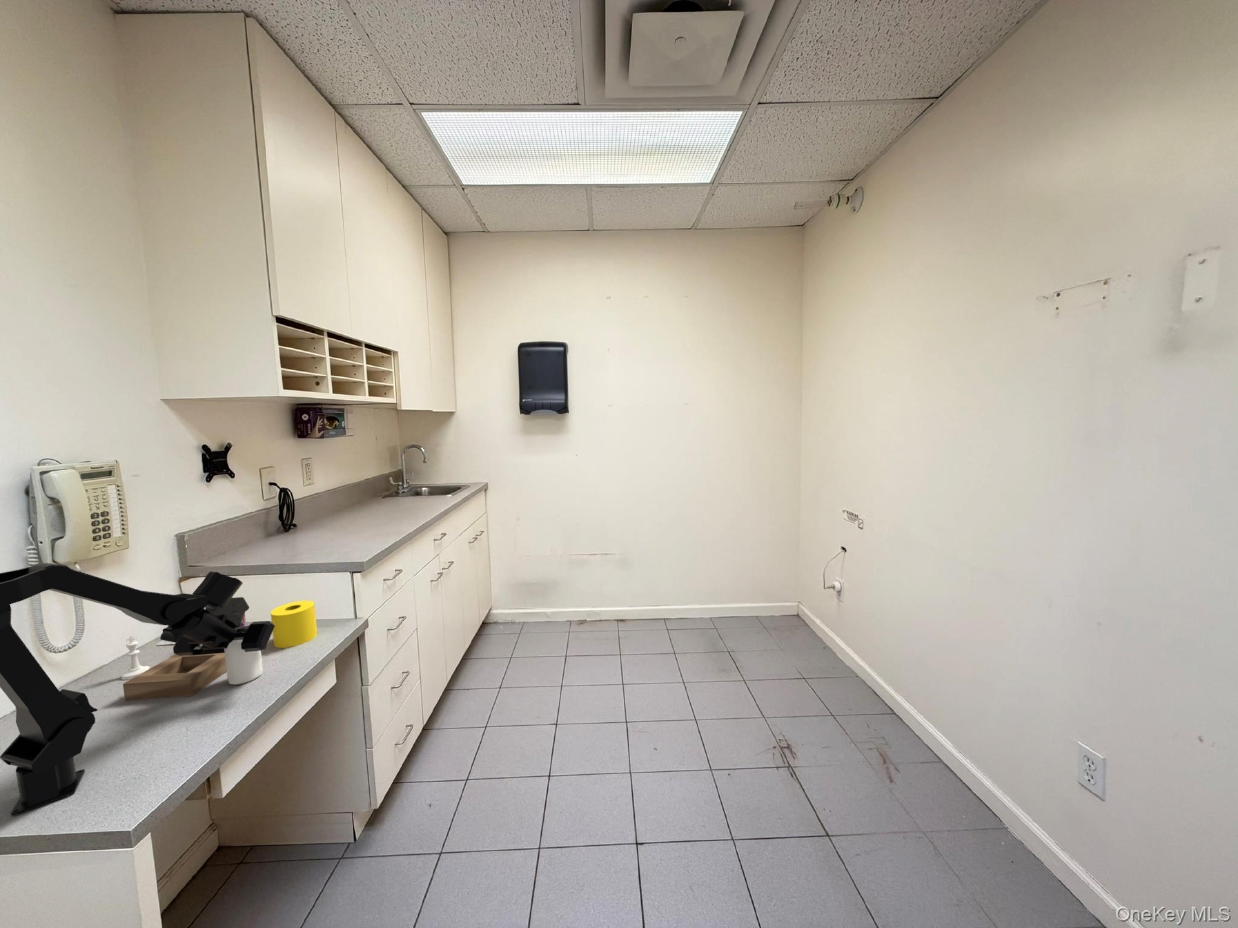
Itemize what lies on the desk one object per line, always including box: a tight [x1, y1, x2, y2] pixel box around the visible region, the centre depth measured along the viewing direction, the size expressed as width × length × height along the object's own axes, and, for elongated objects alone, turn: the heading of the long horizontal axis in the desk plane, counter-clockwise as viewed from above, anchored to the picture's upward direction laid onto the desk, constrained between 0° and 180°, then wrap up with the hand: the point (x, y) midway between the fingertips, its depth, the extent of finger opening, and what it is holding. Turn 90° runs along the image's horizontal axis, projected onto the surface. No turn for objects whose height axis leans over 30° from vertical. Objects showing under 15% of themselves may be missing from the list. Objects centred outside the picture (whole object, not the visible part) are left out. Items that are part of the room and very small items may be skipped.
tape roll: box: [270, 600, 318, 649], centre depth 124 cm, size 10×10×9 cm
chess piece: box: [121, 635, 150, 681], centre depth 108 cm, size 5×5×10 cm
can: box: [224, 625, 264, 686], centre depth 105 cm, size 6×6×12 cm
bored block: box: [122, 653, 227, 702], centre depth 105 cm, size 14×14×4 cm
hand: (247, 648), depth 106 cm, fingers open, 8 cm apart
